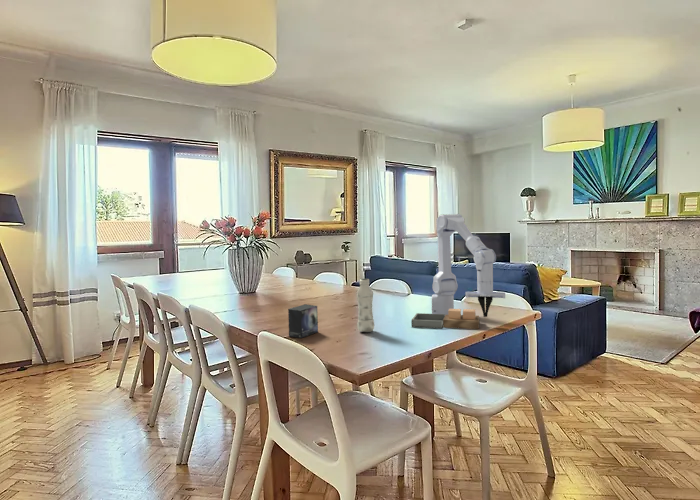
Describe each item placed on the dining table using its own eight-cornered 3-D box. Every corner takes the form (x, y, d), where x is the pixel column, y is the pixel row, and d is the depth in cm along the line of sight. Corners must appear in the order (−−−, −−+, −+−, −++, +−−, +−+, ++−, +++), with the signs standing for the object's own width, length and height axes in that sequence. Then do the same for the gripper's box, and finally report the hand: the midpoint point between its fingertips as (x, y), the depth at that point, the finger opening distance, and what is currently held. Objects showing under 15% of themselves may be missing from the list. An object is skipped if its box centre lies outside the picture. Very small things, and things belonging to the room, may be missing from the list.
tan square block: (448, 318, 169) (448, 310, 169) (449, 316, 174) (449, 308, 174) (460, 318, 168) (460, 311, 168) (461, 316, 172) (461, 308, 172)
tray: (411, 327, 170) (411, 320, 170) (416, 319, 182) (416, 313, 182) (441, 328, 166) (441, 321, 166) (444, 320, 179) (444, 314, 178)
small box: (302, 338, 158) (300, 310, 157) (288, 336, 161) (286, 308, 161) (319, 332, 167) (318, 305, 166) (305, 330, 170) (304, 303, 169)
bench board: (443, 327, 168) (443, 319, 167) (445, 321, 177) (445, 314, 177) (478, 329, 164) (478, 321, 163) (479, 323, 173) (479, 315, 173)
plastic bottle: (376, 330, 167) (375, 278, 166) (371, 334, 160) (370, 280, 159) (360, 329, 169) (359, 278, 168) (355, 333, 163) (353, 280, 161)
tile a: (463, 319, 168) (462, 311, 168) (463, 316, 172) (463, 309, 172) (475, 319, 166) (475, 311, 166) (475, 316, 171) (475, 309, 170)
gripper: (464, 282, 165) (465, 317, 166) (505, 282, 160) (505, 319, 161) (465, 279, 172) (466, 313, 172) (504, 280, 167) (505, 315, 168)
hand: (485, 316), depth 167 cm, fingers closed
